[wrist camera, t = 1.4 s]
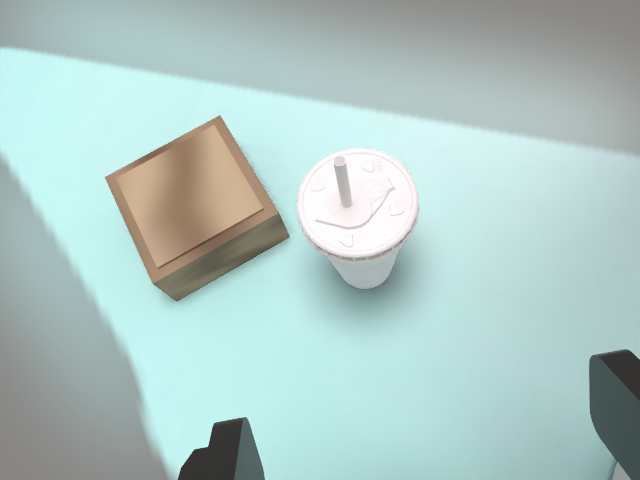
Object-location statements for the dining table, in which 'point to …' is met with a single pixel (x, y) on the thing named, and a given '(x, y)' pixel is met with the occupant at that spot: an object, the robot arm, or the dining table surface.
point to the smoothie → (358, 212)
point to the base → (195, 209)
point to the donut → (620, 473)
